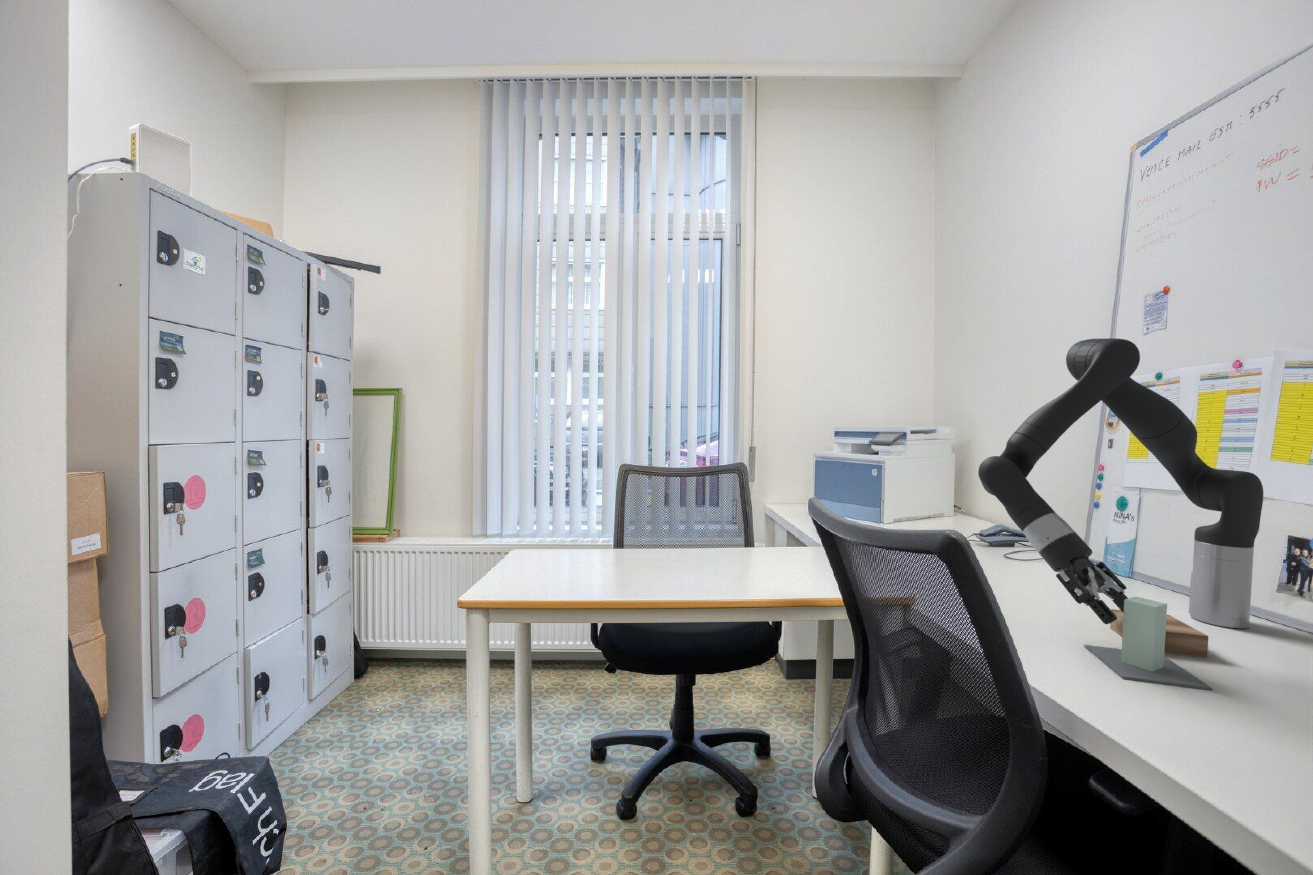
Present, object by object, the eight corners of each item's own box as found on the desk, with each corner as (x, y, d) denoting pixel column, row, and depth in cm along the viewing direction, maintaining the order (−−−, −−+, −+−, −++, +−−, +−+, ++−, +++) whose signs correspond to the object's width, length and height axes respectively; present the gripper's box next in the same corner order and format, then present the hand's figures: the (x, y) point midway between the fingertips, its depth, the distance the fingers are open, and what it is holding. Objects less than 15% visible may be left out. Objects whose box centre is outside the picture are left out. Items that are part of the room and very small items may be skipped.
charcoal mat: (1084, 646, 107) (1084, 644, 107) (1160, 655, 104) (1160, 653, 104) (1122, 678, 94) (1122, 676, 94) (1211, 689, 90) (1211, 687, 90)
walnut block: (1110, 628, 118) (1111, 609, 118) (1168, 634, 115) (1169, 614, 115) (1141, 650, 106) (1142, 629, 106) (1207, 657, 104) (1208, 636, 104)
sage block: (1120, 661, 100) (1124, 599, 99) (1132, 657, 102) (1135, 596, 102) (1152, 671, 96) (1155, 607, 96) (1163, 666, 98) (1167, 603, 98)
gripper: (1052, 533, 105) (1123, 614, 95) (1090, 528, 112) (1160, 603, 102) (1020, 555, 110) (1085, 634, 100) (1059, 549, 117) (1123, 622, 107)
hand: (1123, 618), depth 101 cm, fingers open, 8 cm apart
